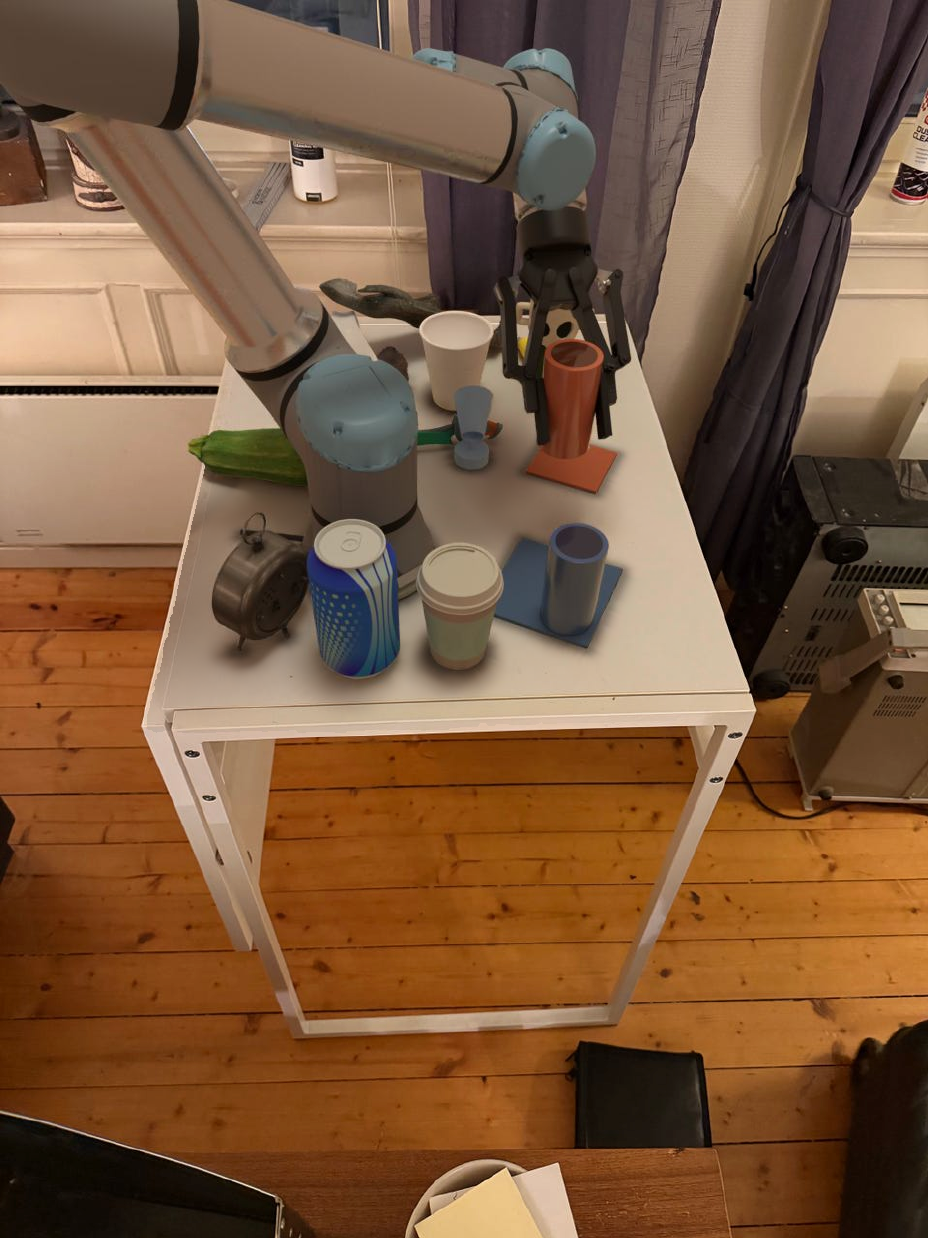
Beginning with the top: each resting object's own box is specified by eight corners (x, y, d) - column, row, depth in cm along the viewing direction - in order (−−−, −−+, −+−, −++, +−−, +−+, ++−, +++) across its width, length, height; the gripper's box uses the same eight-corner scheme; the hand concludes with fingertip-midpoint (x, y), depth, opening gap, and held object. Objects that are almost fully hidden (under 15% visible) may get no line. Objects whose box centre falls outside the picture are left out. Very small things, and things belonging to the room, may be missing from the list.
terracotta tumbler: (528, 450, 95) (536, 361, 87) (547, 420, 99) (557, 332, 91) (579, 465, 94) (592, 375, 86) (597, 435, 97) (611, 346, 89)
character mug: (508, 386, 125) (515, 302, 116) (512, 360, 130) (519, 277, 121) (584, 393, 125) (596, 309, 115) (585, 366, 130) (597, 283, 120)
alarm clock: (287, 589, 97) (267, 475, 85) (325, 608, 96) (310, 494, 84) (220, 651, 91) (188, 537, 79) (260, 673, 89) (233, 560, 77)
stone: (376, 401, 123) (411, 401, 124) (376, 388, 121) (412, 388, 122) (371, 354, 130) (405, 355, 130) (372, 341, 128) (406, 341, 128)
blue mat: (479, 611, 96) (479, 608, 96) (521, 539, 104) (522, 536, 104) (586, 648, 93) (587, 646, 93) (622, 571, 101) (623, 568, 101)
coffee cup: (500, 623, 95) (507, 542, 86) (494, 684, 89) (501, 604, 80) (423, 615, 95) (422, 534, 86) (412, 676, 90) (410, 596, 81)
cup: (466, 428, 119) (468, 357, 111) (406, 405, 122) (404, 334, 114) (502, 394, 124) (507, 324, 116) (444, 373, 128) (445, 303, 120)
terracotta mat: (525, 473, 113) (525, 470, 112) (549, 435, 118) (549, 433, 118) (595, 493, 110) (596, 491, 110) (616, 454, 116) (617, 452, 115)
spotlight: (452, 440, 117) (452, 472, 112) (454, 375, 109) (453, 407, 105) (489, 441, 117) (490, 473, 112) (493, 376, 109) (494, 408, 105)
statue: (530, 311, 128) (332, 254, 116) (520, 352, 129) (324, 300, 118) (503, 314, 137) (317, 261, 125) (495, 352, 138) (310, 304, 127)
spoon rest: (390, 428, 118) (388, 382, 113) (303, 432, 117) (297, 386, 111) (382, 337, 134) (380, 293, 128) (305, 340, 132) (299, 295, 127)
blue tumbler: (531, 625, 94) (540, 551, 86) (550, 589, 98) (561, 515, 90) (583, 643, 93) (598, 569, 85) (600, 606, 96) (616, 532, 88)
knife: (499, 435, 118) (501, 403, 114) (503, 443, 117) (505, 412, 113) (354, 454, 114) (351, 423, 110) (357, 463, 113) (354, 432, 109)
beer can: (416, 655, 92) (414, 544, 80) (355, 699, 87) (343, 588, 76) (365, 612, 95) (356, 500, 84) (304, 652, 91) (285, 540, 80)
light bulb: (524, 353, 128) (539, 333, 127) (503, 342, 132) (518, 324, 132) (536, 367, 130) (551, 348, 130) (515, 356, 134) (530, 338, 134)
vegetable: (332, 481, 103) (170, 469, 105) (344, 496, 111) (192, 484, 112) (338, 422, 104) (177, 410, 106) (350, 440, 111) (199, 429, 113)
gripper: (627, 226, 95) (647, 437, 97) (457, 237, 93) (481, 453, 94) (651, 196, 88) (673, 426, 89) (467, 207, 85) (493, 443, 87)
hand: (574, 439), depth 92 cm, fingers closed on terracotta tumbler, 6 cm apart
